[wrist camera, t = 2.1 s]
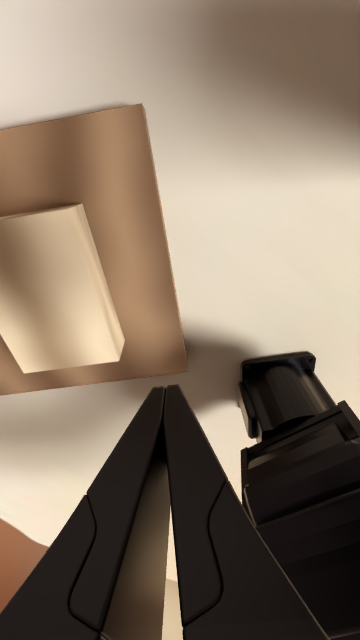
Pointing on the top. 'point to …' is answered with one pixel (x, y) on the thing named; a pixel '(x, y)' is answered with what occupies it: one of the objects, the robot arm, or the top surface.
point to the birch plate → (55, 292)
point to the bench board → (101, 234)
